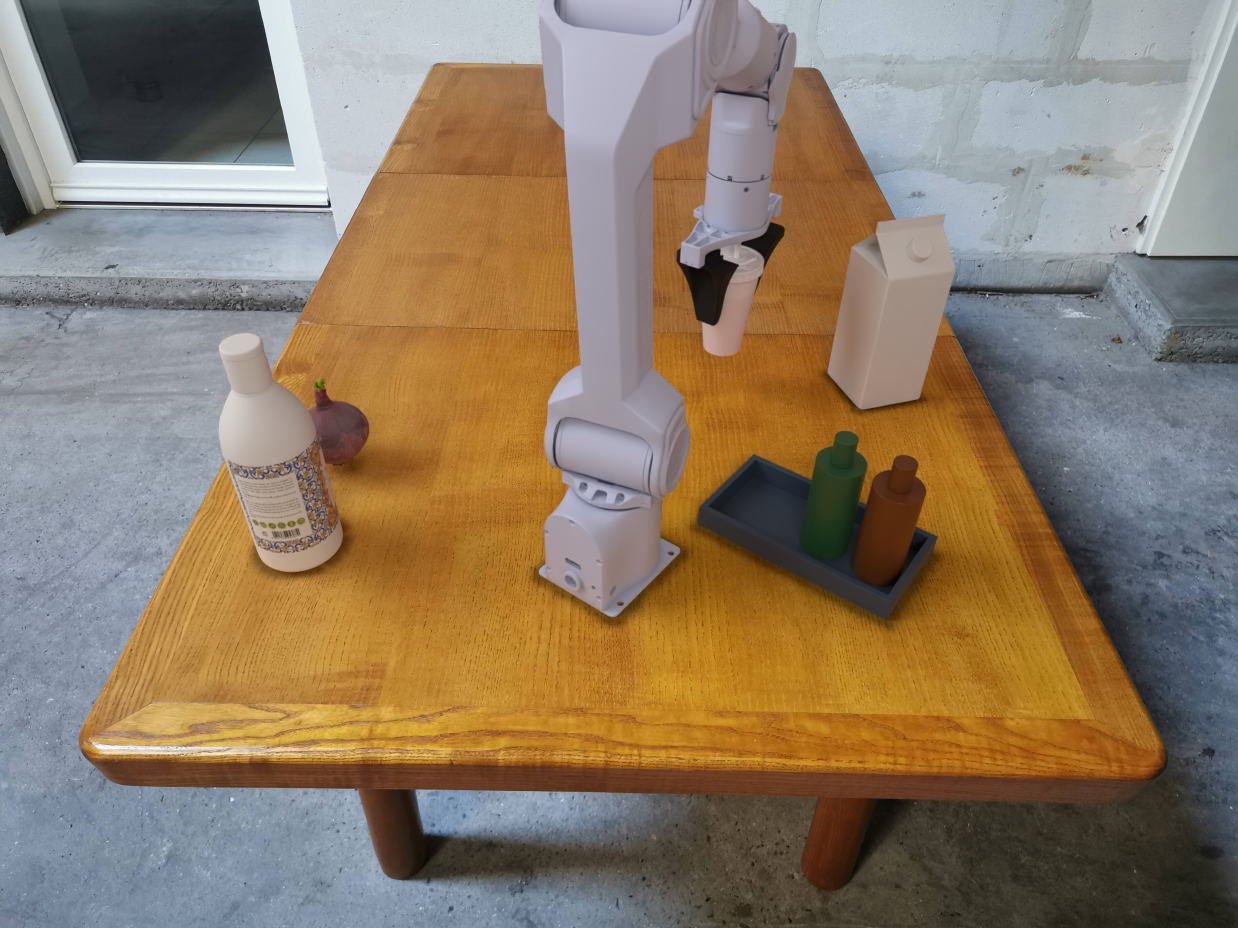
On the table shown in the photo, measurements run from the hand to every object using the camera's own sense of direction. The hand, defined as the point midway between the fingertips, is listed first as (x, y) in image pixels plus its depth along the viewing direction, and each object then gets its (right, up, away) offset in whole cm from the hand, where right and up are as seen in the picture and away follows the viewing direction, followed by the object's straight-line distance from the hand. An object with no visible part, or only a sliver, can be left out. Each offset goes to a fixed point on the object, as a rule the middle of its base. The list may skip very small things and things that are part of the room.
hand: (725, 307), depth 86 cm
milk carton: (+17, -7, +8) cm, 20 cm away
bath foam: (-37, -22, -11) cm, 45 cm away
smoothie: (0, -4, +3) cm, 5 cm away
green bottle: (+7, -22, -11) cm, 26 cm away
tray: (+6, -22, -10) cm, 25 cm away
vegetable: (-37, -15, -3) cm, 40 cm away
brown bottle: (+11, -24, -13) cm, 29 cm away
